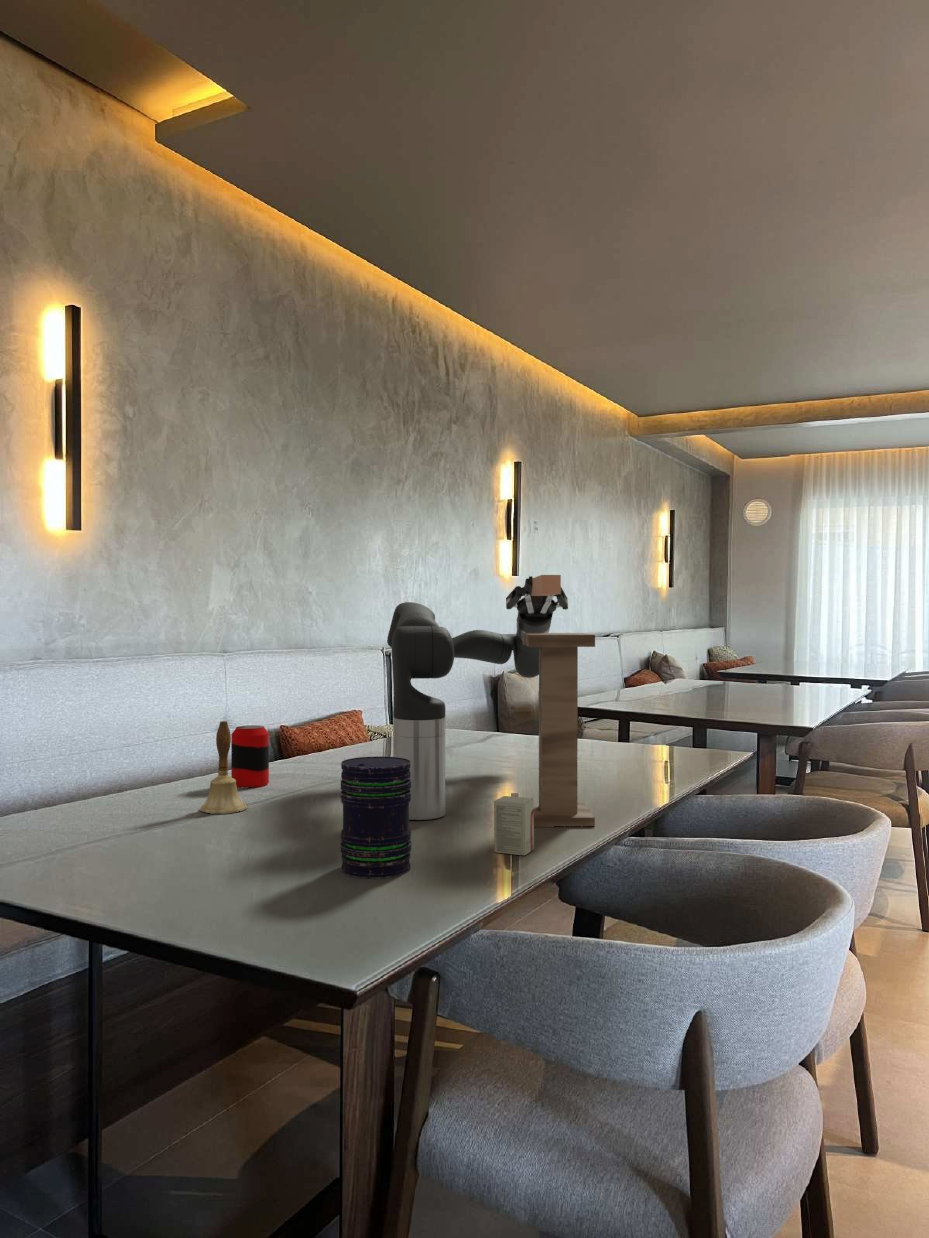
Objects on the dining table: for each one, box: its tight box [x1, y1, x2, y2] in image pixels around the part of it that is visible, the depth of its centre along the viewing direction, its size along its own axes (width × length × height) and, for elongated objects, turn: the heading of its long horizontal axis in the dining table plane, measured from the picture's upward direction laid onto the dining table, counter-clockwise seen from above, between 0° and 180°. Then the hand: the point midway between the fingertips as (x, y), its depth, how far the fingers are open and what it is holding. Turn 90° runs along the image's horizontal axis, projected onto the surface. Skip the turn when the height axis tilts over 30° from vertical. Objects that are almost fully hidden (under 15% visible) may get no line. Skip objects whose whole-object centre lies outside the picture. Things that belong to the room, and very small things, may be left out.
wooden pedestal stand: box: [522, 632, 596, 828], centre depth 163 cm, size 14×11×32 cm
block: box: [530, 574, 562, 596], centre depth 185 cm, size 24×4×4 cm, turn 1°
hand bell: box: [199, 720, 248, 815], centre depth 170 cm, size 8×8×16 cm
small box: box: [493, 795, 535, 856], centre depth 140 cm, size 5×4×8 cm
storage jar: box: [340, 756, 412, 880], centre depth 131 cm, size 10×10×15 cm
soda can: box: [230, 724, 270, 788], centre depth 194 cm, size 8×8×12 cm
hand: (540, 580), depth 193 cm, fingers closed on block, 3 cm apart
